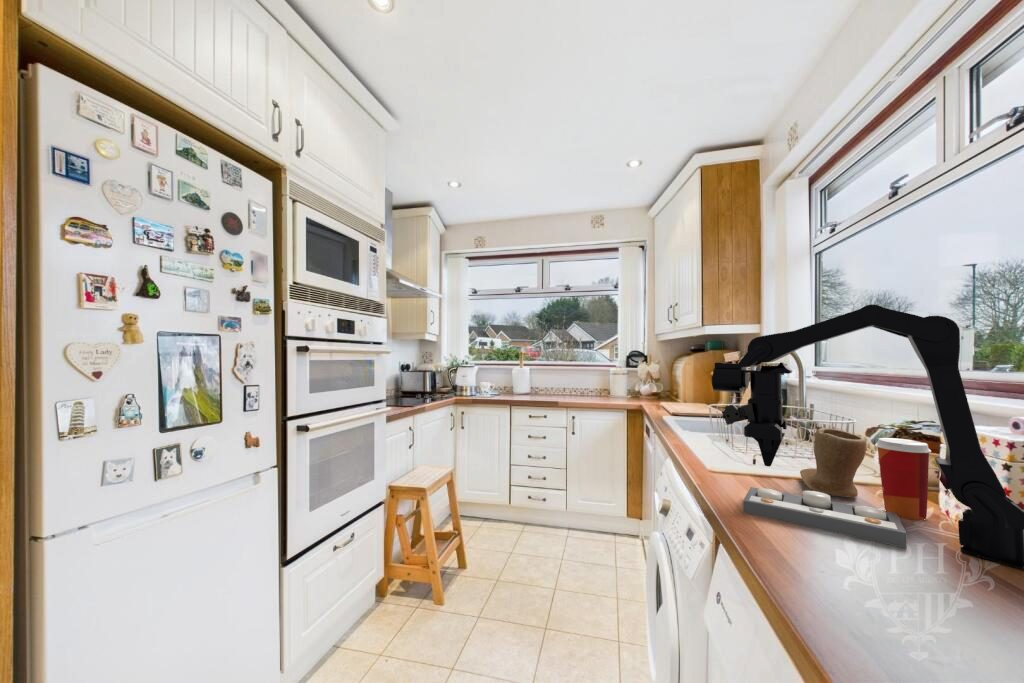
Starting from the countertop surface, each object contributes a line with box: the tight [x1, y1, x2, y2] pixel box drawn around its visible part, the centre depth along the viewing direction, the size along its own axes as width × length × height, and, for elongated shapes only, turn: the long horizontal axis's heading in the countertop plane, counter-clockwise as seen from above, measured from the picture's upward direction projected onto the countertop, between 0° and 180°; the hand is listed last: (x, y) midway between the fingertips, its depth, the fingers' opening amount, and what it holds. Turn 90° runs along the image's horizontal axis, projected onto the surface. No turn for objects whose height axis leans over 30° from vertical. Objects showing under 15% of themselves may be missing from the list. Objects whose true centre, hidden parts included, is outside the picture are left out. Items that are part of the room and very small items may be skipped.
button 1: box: [757, 488, 783, 501], centre depth 83 cm, size 4×4×2 cm
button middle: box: [802, 490, 831, 509], centre depth 78 cm, size 4×4×2 cm
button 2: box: [854, 505, 886, 521], centre depth 73 cm, size 4×4×2 cm
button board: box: [742, 486, 908, 549], centre depth 77 cm, size 24×11×3 cm, turn 51°
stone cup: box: [799, 427, 867, 499], centre depth 94 cm, size 15×12×15 cm
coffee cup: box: [875, 437, 932, 521], centre depth 80 cm, size 8×8×15 cm
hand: (767, 465), depth 84 cm, fingers closed
